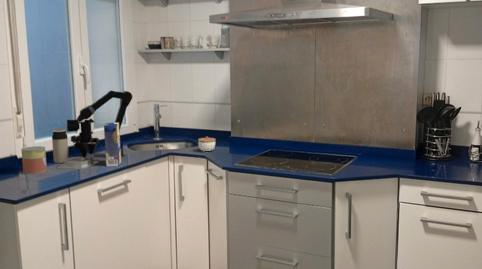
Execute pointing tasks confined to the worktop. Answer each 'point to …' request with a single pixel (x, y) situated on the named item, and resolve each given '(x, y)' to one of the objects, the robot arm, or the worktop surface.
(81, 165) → the grey faceted ring
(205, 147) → the lidded jar
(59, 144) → the travel mug
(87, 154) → the cap
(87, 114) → the robot arm
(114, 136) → the beverage box
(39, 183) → the worktop surface
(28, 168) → the canned food
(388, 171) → the worktop surface
